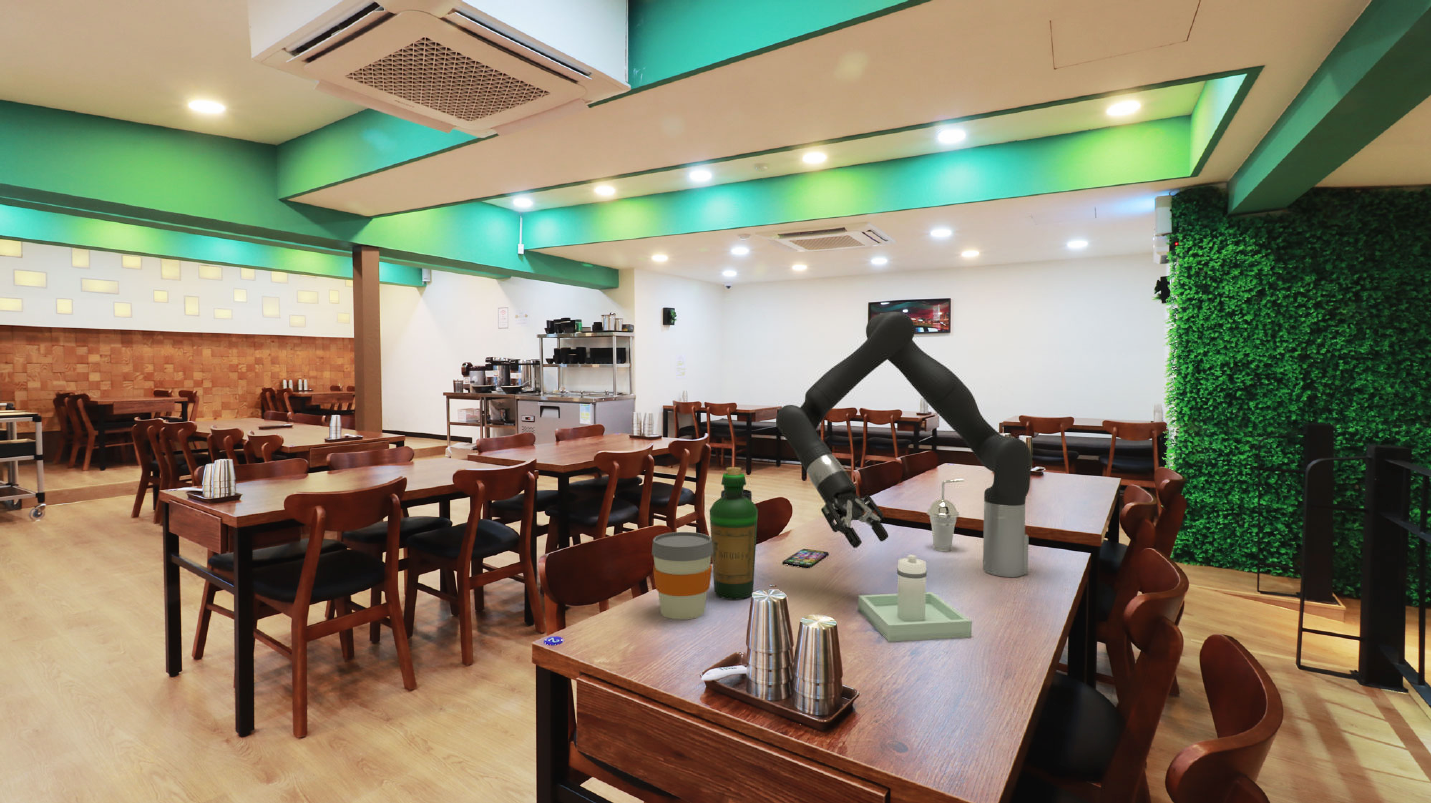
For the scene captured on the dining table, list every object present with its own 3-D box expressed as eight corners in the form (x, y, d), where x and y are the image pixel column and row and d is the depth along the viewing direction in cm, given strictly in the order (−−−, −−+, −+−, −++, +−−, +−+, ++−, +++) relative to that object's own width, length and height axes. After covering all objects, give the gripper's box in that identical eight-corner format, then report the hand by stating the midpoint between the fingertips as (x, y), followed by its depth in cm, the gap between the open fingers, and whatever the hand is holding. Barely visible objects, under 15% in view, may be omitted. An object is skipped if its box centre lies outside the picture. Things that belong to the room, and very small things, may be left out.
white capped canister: (918, 611, 131) (919, 551, 130) (930, 622, 125) (931, 559, 125) (892, 612, 130) (893, 552, 129) (903, 623, 125) (904, 560, 124)
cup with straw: (937, 543, 186) (938, 474, 185) (966, 550, 179) (967, 478, 178) (920, 548, 181) (921, 477, 180) (949, 555, 174) (951, 481, 173)
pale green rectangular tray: (932, 606, 137) (932, 592, 136) (971, 636, 121) (971, 621, 121) (858, 609, 135) (858, 595, 134) (888, 641, 119) (888, 625, 119)
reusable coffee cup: (706, 625, 126) (705, 548, 126) (644, 620, 129) (643, 545, 128) (718, 602, 139) (718, 533, 138) (661, 598, 141) (661, 530, 141)
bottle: (700, 597, 142) (700, 469, 141) (723, 583, 152) (723, 463, 150) (745, 605, 137) (745, 473, 136) (765, 590, 147) (765, 466, 145)
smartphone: (780, 562, 167) (803, 548, 179) (780, 565, 167) (803, 551, 180) (809, 566, 163) (830, 552, 176) (809, 570, 163) (830, 555, 176)
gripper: (817, 472, 137) (859, 537, 128) (861, 466, 146) (904, 527, 137) (799, 494, 141) (838, 558, 133) (843, 486, 150) (883, 546, 141)
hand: (872, 542), depth 135 cm, fingers open, 8 cm apart
